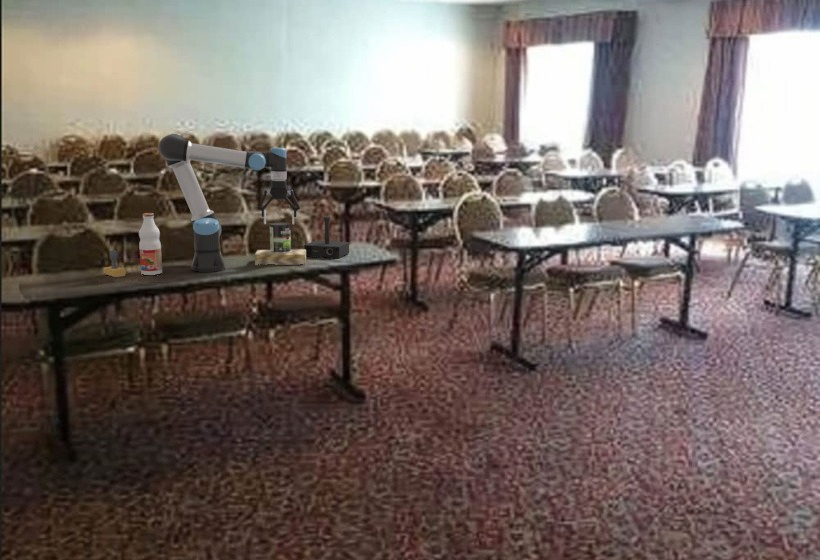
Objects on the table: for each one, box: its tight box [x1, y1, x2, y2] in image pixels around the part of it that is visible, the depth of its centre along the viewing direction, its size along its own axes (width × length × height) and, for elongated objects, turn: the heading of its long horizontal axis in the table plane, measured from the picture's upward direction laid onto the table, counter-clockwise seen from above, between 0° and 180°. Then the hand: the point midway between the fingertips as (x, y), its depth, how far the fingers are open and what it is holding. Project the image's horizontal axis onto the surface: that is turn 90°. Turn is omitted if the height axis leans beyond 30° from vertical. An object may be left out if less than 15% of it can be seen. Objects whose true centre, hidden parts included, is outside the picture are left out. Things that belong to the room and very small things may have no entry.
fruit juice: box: [138, 212, 163, 275], centre depth 397 cm, size 9×9×28 cm
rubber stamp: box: [103, 249, 127, 276], centre depth 395 cm, size 10×6×12 cm, turn 46°
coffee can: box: [268, 221, 292, 254], centre depth 427 cm, size 10×10×14 cm
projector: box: [303, 216, 350, 259], centre depth 446 cm, size 19×17×20 cm
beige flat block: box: [254, 248, 307, 266], centre depth 429 cm, size 24×14×5 cm, turn 95°
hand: (279, 223), depth 425 cm, fingers open, 13 cm apart
